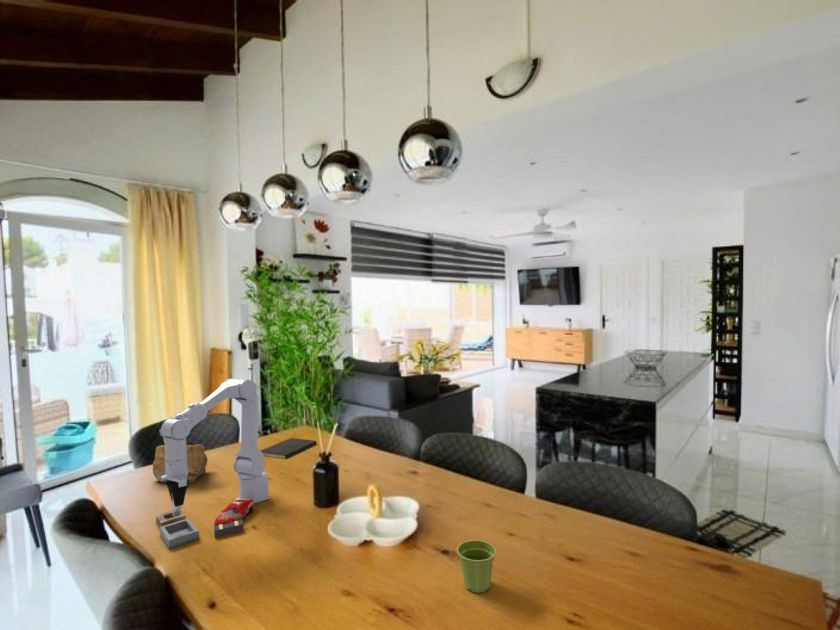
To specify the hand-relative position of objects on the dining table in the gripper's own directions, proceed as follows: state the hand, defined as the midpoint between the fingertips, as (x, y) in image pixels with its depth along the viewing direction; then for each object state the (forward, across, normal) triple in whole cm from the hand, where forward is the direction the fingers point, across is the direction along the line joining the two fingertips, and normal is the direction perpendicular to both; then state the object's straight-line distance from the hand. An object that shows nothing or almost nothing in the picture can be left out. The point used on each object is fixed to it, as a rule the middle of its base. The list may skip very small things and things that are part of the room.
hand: (177, 503), depth 135 cm
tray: (+10, +1, 0) cm, 10 cm away
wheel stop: (+10, +8, +12) cm, 18 cm away
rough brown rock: (+10, -51, +15) cm, 54 cm away
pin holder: (+10, -12, 0) cm, 15 cm away
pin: (+3, 0, 0) cm, 3 cm away
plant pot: (+10, +78, +47) cm, 92 cm away
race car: (+10, 0, +16) cm, 20 cm away
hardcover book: (+11, -55, +61) cm, 83 cm away
